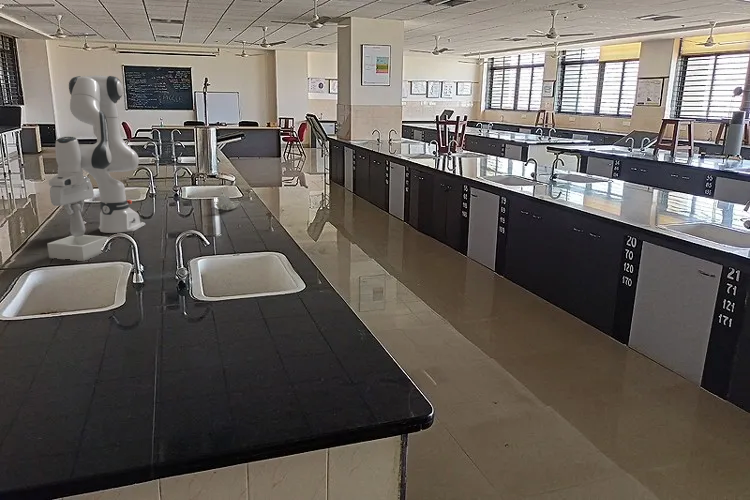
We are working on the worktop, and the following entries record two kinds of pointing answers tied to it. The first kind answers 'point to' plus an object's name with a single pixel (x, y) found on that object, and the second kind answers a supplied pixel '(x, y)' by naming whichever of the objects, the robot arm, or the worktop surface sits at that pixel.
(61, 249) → the box
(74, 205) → the salt shaker
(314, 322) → the worktop surface
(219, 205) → the skeletal model
